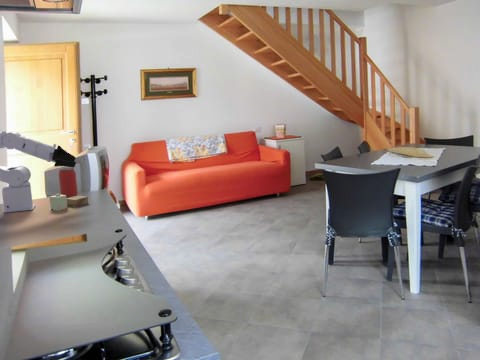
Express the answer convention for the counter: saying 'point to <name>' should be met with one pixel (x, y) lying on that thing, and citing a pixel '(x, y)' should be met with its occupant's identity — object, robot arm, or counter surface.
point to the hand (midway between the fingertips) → (74, 162)
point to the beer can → (68, 182)
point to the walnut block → (77, 201)
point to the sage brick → (58, 202)
